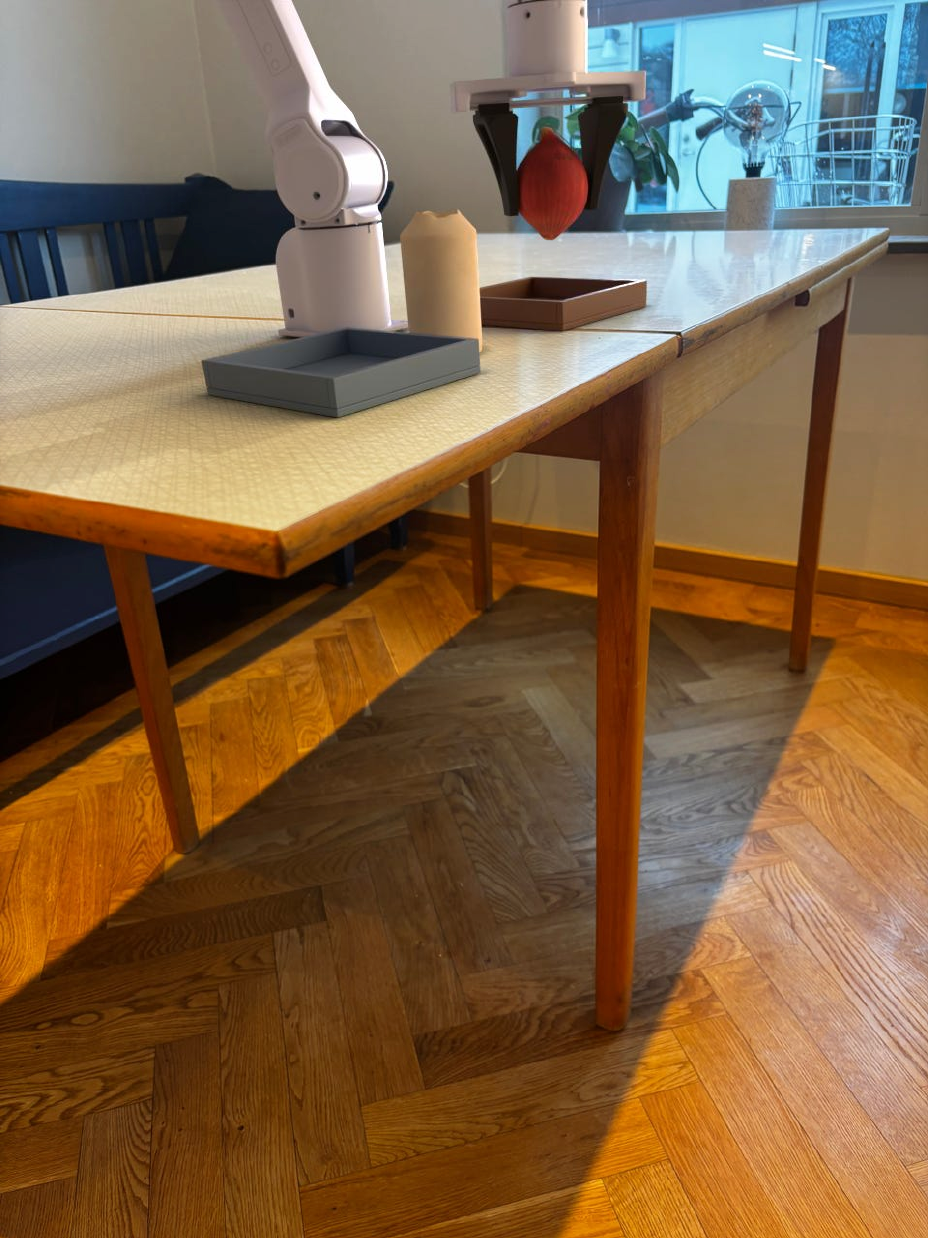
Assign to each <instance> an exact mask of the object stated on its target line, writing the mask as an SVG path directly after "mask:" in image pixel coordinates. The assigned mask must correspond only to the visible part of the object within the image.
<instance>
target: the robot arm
mask: <svg viewBox="0 0 928 1238" xmlns="http://www.w3.org/2000/svg"><path fill="white" fill-rule="evenodd" d="M216 1H217V3H218V6H219V8H220V10H221V13H222V15H223V17H224V18H225V21H226V23H227V25H228V28H229V29H230V31H231V32H230V33H231V34H232V36H233V38H234V41H235V42H236V44H237V47H238V49H239V51H240V53H241V55H242V57H243V60H244V62H245V65H246V66H247V69H248V71H249V72H250V75H251V77H252V79H253V81H254V83H255V85H256V87H257V89H258V92H259V94H260V96H261V98H262V101H263V102H264V105H265V107H266V109H267V111H268V118H267V123H266V128H265V132H264V141H265V143H266V145H267V147H268V149H269V152H270V154H271V157H272V160H273V169H274V171H273V172H274V183H275V188H276V191H277V194H278V196H279V199H280V200H281V202H282V203H283V205H284V207H285V208H286V209H287V210H288V211H289V212H290V213H291V214H292V215H293V216H294V225H295V227H292V228H290V229H289V230H287V231H286V232H285V233H284V234H283V235H282V236H281V238H280V239H279V242H278V244H277V248H276V252H275V268H276V275H277V280H278V288H279V295H280V301H281V308H282V315H283V323H284V328H280V329H278V330H277V334H278V335H279V336H284V337H292V338H293V337H294V338H302V337H306V336H311V335H315V334H319V333H324V332H328V331H332V330H337V329H341V328H346V327H349V328H361V329H372V330H384V331H396V332H397V331H400V330H404V329H408V320H398V319H392V318H391V308H390V297H389V295H390V294H389V287H388V276H387V266H386V256H385V255H386V253H385V245H384V244H385V243H384V236H383V235H384V234H383V224H382V222H381V220H382V215H381V212H380V211H379V209H378V205H379V204H380V203H381V201H382V199H383V197H384V196H385V194H386V190H387V187H388V186H387V185H388V177H389V176H388V175H389V174H388V167H387V164H386V161H385V157H384V155H383V153H382V151H381V150H380V149H379V148H378V146H377V145H376V144H375V143H374V142H373V141H372V140H370V139H369V138H368V137H367V136H366V135H365V134H364V133H363V131H362V130H361V129H360V126H359V125H358V123H357V120H356V119H355V116H354V114H353V112H352V111H351V110H350V109H349V108H348V106H347V105H346V104H345V103H344V102H343V100H341V98H340V97H339V96H338V95H337V93H336V92H334V90H333V89H332V88H331V86H330V84H329V82H328V79H327V77H326V75H325V72H324V70H323V69H322V67H321V63H320V62H319V59H318V56H317V55H316V52H315V50H314V48H313V46H312V44H311V43H312V42H310V39H309V36H308V34H307V32H306V30H305V28H304V25H303V23H302V21H301V19H300V17H299V14H298V12H297V10H296V7H295V5H294V2H293V1H292V0H216ZM506 6H507V7H506V9H507V10H506V11H507V37H508V41H507V43H508V69H509V71H508V74H509V76H507V77H495V78H484V79H472V80H471V79H470V80H456V81H453V82H451V83H449V92H450V93H449V95H450V111H451V112H450V113H452V114H455V113H456V114H458V113H466V112H474V114H473V115H472V123H473V126H474V129H475V131H476V133H477V135H478V137H479V139H480V141H481V143H482V145H483V147H484V149H485V152H486V155H487V158H488V159H489V161H490V164H491V165H490V166H491V167H492V171H493V173H494V176H495V179H496V183H497V187H498V190H499V194H500V197H501V203H502V209H503V216H506V217H518V216H519V215H520V213H519V194H518V182H517V169H518V167H517V165H518V164H517V163H518V162H517V160H518V156H517V155H518V154H517V153H518V133H519V131H518V129H519V116H518V115H517V114H516V113H514V111H513V110H511V109H526V108H528V109H529V108H544V107H546V108H547V107H558V106H559V107H561V106H575V105H576V106H578V105H587V106H585V107H583V111H581V112H580V113H578V115H577V121H578V128H579V140H580V152H581V162H582V164H583V166H584V169H585V172H586V175H587V181H588V194H587V201H586V203H585V206H584V208H583V210H585V211H586V210H587V211H595V210H599V203H600V198H601V192H602V187H603V183H604V179H605V174H606V171H607V168H608V166H609V165H608V164H609V161H610V158H611V155H612V153H613V150H614V147H615V144H616V142H617V139H618V138H619V135H620V132H621V130H622V128H623V126H624V124H625V122H626V120H627V118H628V114H629V103H635V102H636V103H637V102H640V101H645V100H646V88H647V87H646V84H647V83H646V81H647V71H646V70H629V71H628V70H627V71H592V72H591V71H589V72H588V0H506ZM562 91H569V92H568V94H569V96H570V97H569V96H567V97H549V98H535V99H521V98H526V97H528V94H536V93H551V92H552V93H553V92H562ZM580 95H584V96H580ZM513 99H515V100H513ZM516 99H517V100H516Z"/></svg>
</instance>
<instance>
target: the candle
mask: <svg viewBox="0 0 928 1238" xmlns="http://www.w3.org/2000/svg"><path fill="white" fill-rule="evenodd" d="M399 238H400V239H399V240H400V250H401V261H402V272H403V285H404V294H405V295H404V297H405V306H406V307H405V308H406V318H407V321H408V328H407V331H408V333H419V334H430V335H442V336H453V337H465V338H476V339H479V353H481V352H482V350H483V333H482V331H483V330H482V325H481V311H480V292H479V288H480V273H479V259H478V257H479V256H478V238H477V229H476V228H475V227H474V226H473V225H472V224H471V223H470V221H468V219H467V218H466V217H465V216H464V215H463V214H462V212H461V211H460V210H459V209H458V208H457V209H455V210H452V209H447V210H443V211H442V212H441V211H440V212H438V213H437V212H433V211H431V210H425V211H422V212H418V211H416V212H415V214H414V216H413V217H412V219H411V220H410V221H409V223H408V224H407V225H406V226H405V228H404V229H403V230H402V232H401V233H400V235H399Z"/></svg>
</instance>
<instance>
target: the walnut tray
mask: <svg viewBox="0 0 928 1238" xmlns="http://www.w3.org/2000/svg"><path fill="white" fill-rule="evenodd" d="M647 290H648V280H647V279H625V278H622V279H620V278H618V279H617V278H591V277H590V278H589V277H586V278H585V277H561V276H560V277H559V276H528V277H522V278H518V279H513V280H509V281H504V282H500V283H496V284H495V283H494V284H491V285H486V286H482V287H479V292H480V311H481V326H490V327H503V328H516V329H530V330H543V331H554V332H555V331H556V332H563V331H569V330H571V329H575V328H577V327H581V326H584V325H585V326H586V325H588V324H591V323H595V322H598V321H602V320H605V319H608V318H612V317H616V316H619V315H622V314H627V313H629V312H632V311H636V310H639V309H643V308H646V307H647V298H648V297H647V295H648V292H647Z"/></svg>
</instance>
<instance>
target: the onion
mask: <svg viewBox="0 0 928 1238" xmlns="http://www.w3.org/2000/svg"><path fill="white" fill-rule="evenodd" d="M517 182H518V194H519V215H520V216H521V217H522V218H523V220H524V221H525V222H526V223H527V224H528V225H530V227H531V228H532V229H534V230H535V231H536V232H537V233H538V234H539V236H540V237H541V238H543V240H546V241H554V240H555V239H557V238H558V237H560V236H561V234H562V233H563V232H565V231H566V230H567V229H568V228H569V227H570V226H571V225H572V224H573V223H575V221H576V220H577V219H578V217H579V216H581V214H582V212H583V210H584V209H583V208H584V206H585V203H586V201H587V194H588V181H587V175H586V172H585V169H584V166H583V164H582V159H581V158H580V157H579V156H578V154H577V153H576V152H575V151H574V149H572V147H571V146H570V145H569V144H568V143H566V142H565V141H564V140H563V139H561V137H560V136H559V135H558V134H557V133H555V132H554V130H553V128H552V127H549V126H542V127H541V129H540V137H539V141H538V142H537V143H536V144H535V145H534V146H533V147H532V148H531V149H530V150H529V151H528V152H527V153H526V154H525V155H524V157H523V158H522V160H521V161H520V163H519V164H518V167H517Z"/></svg>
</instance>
